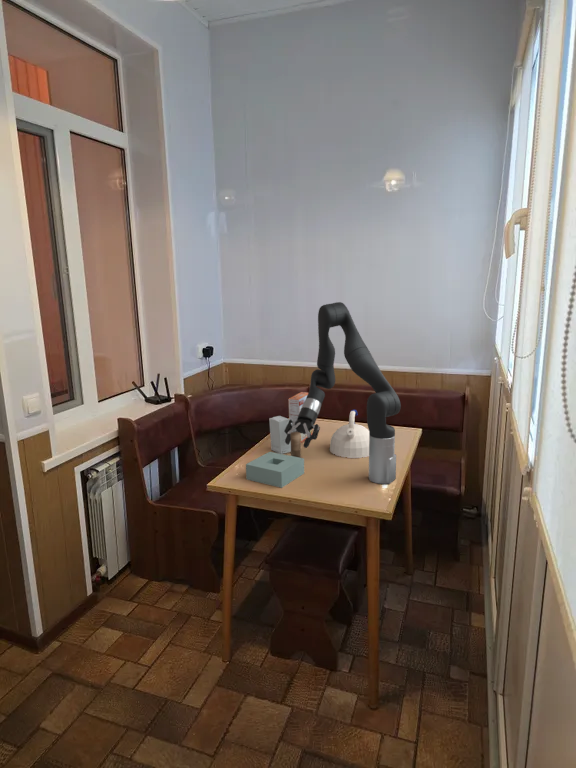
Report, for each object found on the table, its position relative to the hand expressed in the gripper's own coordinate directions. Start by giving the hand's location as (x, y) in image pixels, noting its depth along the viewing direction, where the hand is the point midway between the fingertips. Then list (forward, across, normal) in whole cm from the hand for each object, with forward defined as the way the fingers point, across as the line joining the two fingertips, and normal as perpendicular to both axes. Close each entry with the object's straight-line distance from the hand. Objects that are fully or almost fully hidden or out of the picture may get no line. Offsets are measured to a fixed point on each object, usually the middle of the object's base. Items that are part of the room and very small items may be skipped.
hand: (295, 445), depth 208 cm
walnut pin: (+6, 0, +5) cm, 8 cm away
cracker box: (-15, -15, +26) cm, 34 cm away
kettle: (-13, +13, +24) cm, 30 cm away
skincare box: (-1, -14, +13) cm, 19 cm away
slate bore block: (+16, 0, -5) cm, 17 cm away
